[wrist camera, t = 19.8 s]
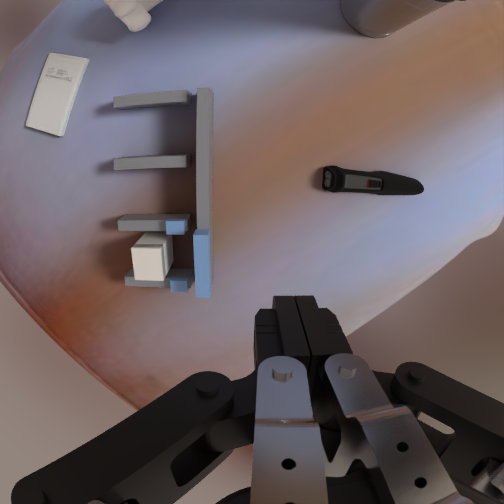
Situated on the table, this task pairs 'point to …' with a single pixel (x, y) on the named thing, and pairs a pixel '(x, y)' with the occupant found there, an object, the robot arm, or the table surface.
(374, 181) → the electric trimmer
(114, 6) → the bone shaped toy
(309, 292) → the table surface
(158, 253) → the cream white box
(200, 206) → the rack
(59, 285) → the table surface
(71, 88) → the external hard drive
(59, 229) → the table surface
